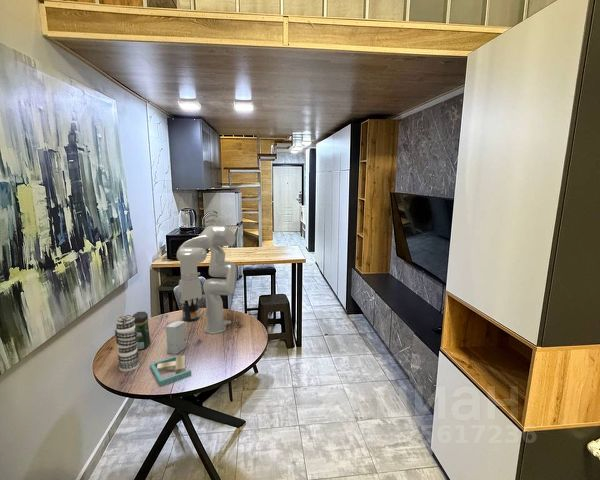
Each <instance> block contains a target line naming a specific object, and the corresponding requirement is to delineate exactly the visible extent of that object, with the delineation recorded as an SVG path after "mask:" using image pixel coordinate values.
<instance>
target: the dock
mask: <svg viewBox="0 0 600 480" xmlns="http://www.w3.org/2000/svg"><path fill="white" fill-rule="evenodd" d="M177 356H181V355H179V354H178V355H177V354H176V355H174V356H171V357H168V358H165V359H162V360H159V361H158V360H157V361H154V362H152V363H150V364H149V367H150V371H151V372H152V374H153V376H154V378H155V380H156V381H157V384H158V386H159V387H164V386H167V385H169V384H171V383H175V382H177V381H181V380H183V379H186V378H189V377H191V376H192V370H191V369H188V370H185V371H184V372H181V373H179V374H176V373H175V374H173V375H171V376H170V375H169V376H168V377H164V378H163V377H162V376H161V374H160V373H159V372H158V370H157V365H158V364H160V363H166V362H172V361H176V357H177Z"/></svg>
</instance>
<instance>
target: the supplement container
mask: <svg viewBox="0 0 600 480" xmlns="http://www.w3.org/2000/svg"><path fill="white" fill-rule="evenodd" d="M190 301H191V302H192V299H191V300H190ZM181 309H182V311H181V312H182V319H183V321H184V322H194V321H197V320H199V319H200V315H201V314H200V305H199V300H198V301H197V302H196V304H195V312H194V313H191V312H189V311H188V305H187V304H186V303H182V306H181Z"/></svg>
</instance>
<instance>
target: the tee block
mask: <svg viewBox="0 0 600 480" xmlns="http://www.w3.org/2000/svg"><path fill="white" fill-rule="evenodd" d="M176 356H177V355H176ZM157 370H158V372H159V373H160V375H161V374H166V373H167V374H168V373H172V372H175V375H176V374H179V373H181V372H184V371H186V357H185V354H184V355H180V356H177V357H176V361H172V362H166V363H160V364H158V365H157Z"/></svg>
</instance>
